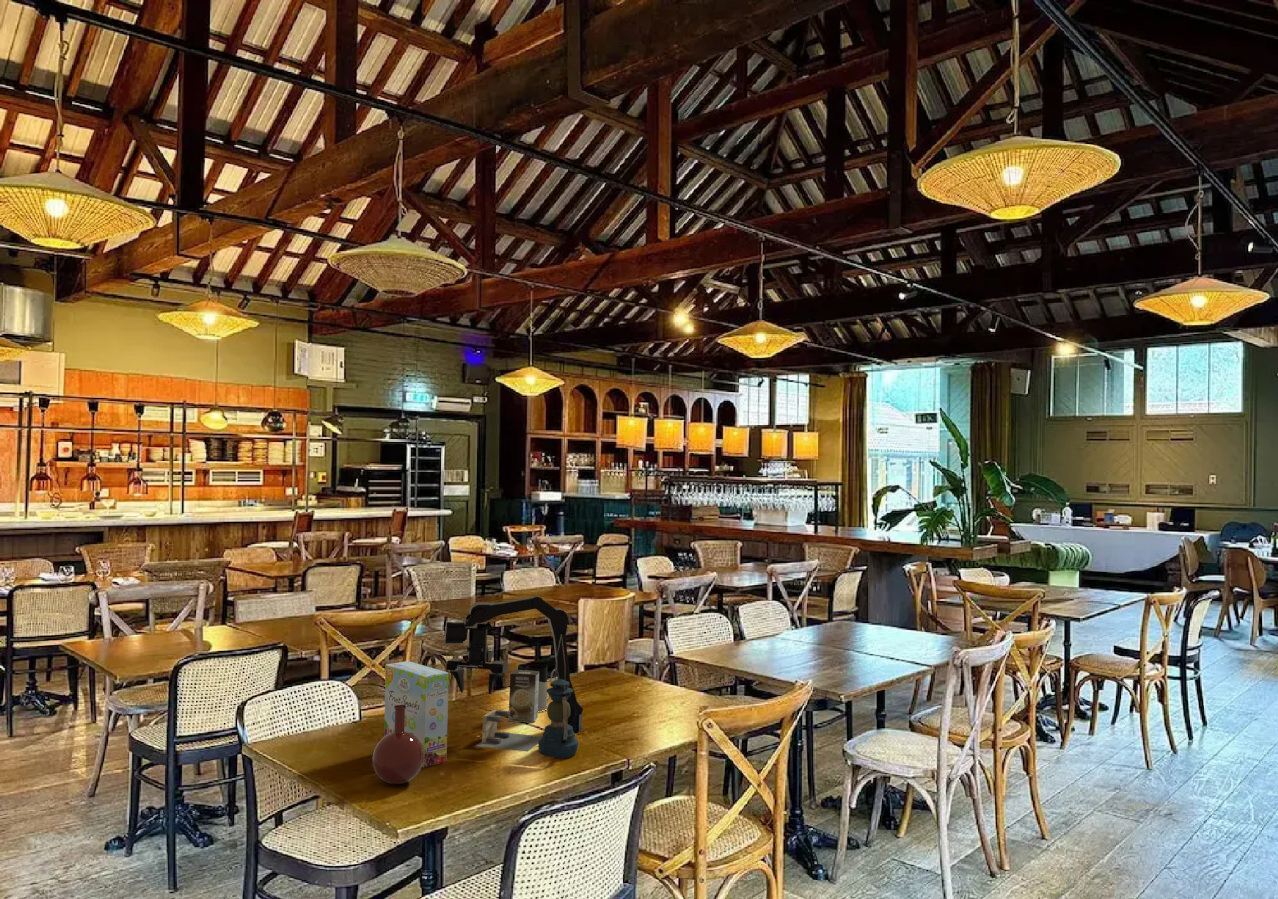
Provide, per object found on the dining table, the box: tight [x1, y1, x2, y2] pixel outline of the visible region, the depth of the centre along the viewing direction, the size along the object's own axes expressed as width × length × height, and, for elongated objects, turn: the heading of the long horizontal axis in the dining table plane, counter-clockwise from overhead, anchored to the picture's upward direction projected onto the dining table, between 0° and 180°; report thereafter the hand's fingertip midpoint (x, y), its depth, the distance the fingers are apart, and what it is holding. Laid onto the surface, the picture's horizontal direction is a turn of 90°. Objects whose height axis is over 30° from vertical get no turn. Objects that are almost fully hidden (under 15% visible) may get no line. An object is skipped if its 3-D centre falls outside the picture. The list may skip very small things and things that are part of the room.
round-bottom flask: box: [372, 705, 424, 785], centre depth 231 cm, size 13×13×20 cm
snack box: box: [383, 660, 450, 769], centre depth 253 cm, size 22×9×26 cm, turn 47°
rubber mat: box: [475, 732, 543, 752], centre depth 269 cm, size 17×16×1 cm
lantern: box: [537, 634, 579, 759], centre depth 260 cm, size 14×12×35 cm
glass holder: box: [525, 664, 557, 711], centre depth 311 cm, size 9×14×15 cm, turn 115°
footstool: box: [481, 709, 511, 744], centre depth 270 cm, size 6×8×8 cm
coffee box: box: [507, 669, 539, 723], centre depth 296 cm, size 9×6×16 cm
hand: (475, 693), depth 275 cm, fingers open, 9 cm apart
